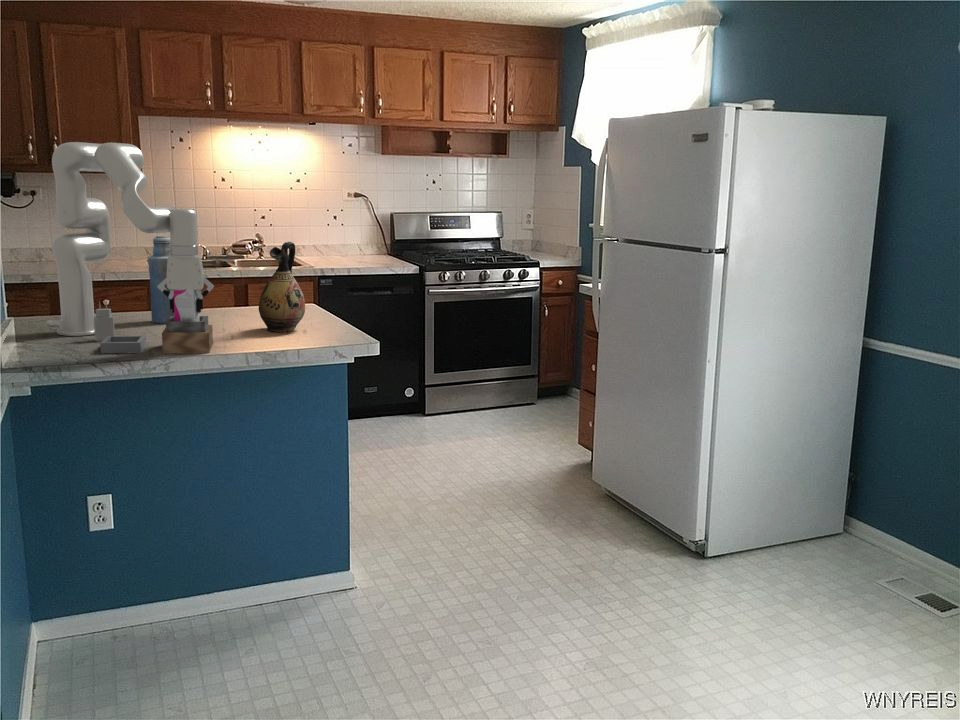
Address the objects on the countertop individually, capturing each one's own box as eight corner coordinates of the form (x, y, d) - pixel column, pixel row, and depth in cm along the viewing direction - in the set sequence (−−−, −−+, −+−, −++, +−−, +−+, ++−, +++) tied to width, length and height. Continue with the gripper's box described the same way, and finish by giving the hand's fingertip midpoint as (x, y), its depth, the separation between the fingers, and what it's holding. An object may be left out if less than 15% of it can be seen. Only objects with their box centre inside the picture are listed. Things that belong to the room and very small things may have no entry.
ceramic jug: (290, 335, 270) (288, 244, 264) (250, 331, 275) (247, 241, 269) (316, 328, 286) (315, 241, 280) (278, 324, 291) (276, 239, 284)
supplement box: (200, 323, 247) (199, 286, 244) (194, 327, 241) (192, 288, 239) (180, 323, 247) (179, 285, 244) (174, 326, 241) (172, 288, 238)
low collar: (100, 353, 235) (100, 343, 234) (108, 345, 245) (107, 335, 244) (140, 352, 237) (140, 342, 237) (146, 345, 248) (146, 335, 247)
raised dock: (162, 353, 238) (161, 322, 236) (168, 344, 250) (167, 315, 248) (209, 352, 241) (208, 322, 239) (213, 343, 253) (212, 315, 251)
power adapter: (115, 340, 254) (113, 301, 251) (96, 341, 251) (94, 302, 248) (113, 338, 256) (111, 300, 254) (94, 339, 253) (92, 301, 251)
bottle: (172, 324, 282) (168, 237, 275) (145, 323, 283) (141, 235, 277) (186, 320, 291) (182, 235, 285) (160, 318, 293) (156, 234, 286)
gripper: (151, 252, 234) (154, 314, 238) (214, 253, 238) (216, 314, 242) (154, 249, 241) (157, 310, 245) (216, 250, 245) (218, 310, 249)
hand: (186, 311), depth 243 cm, fingers closed on supplement box, 6 cm apart
